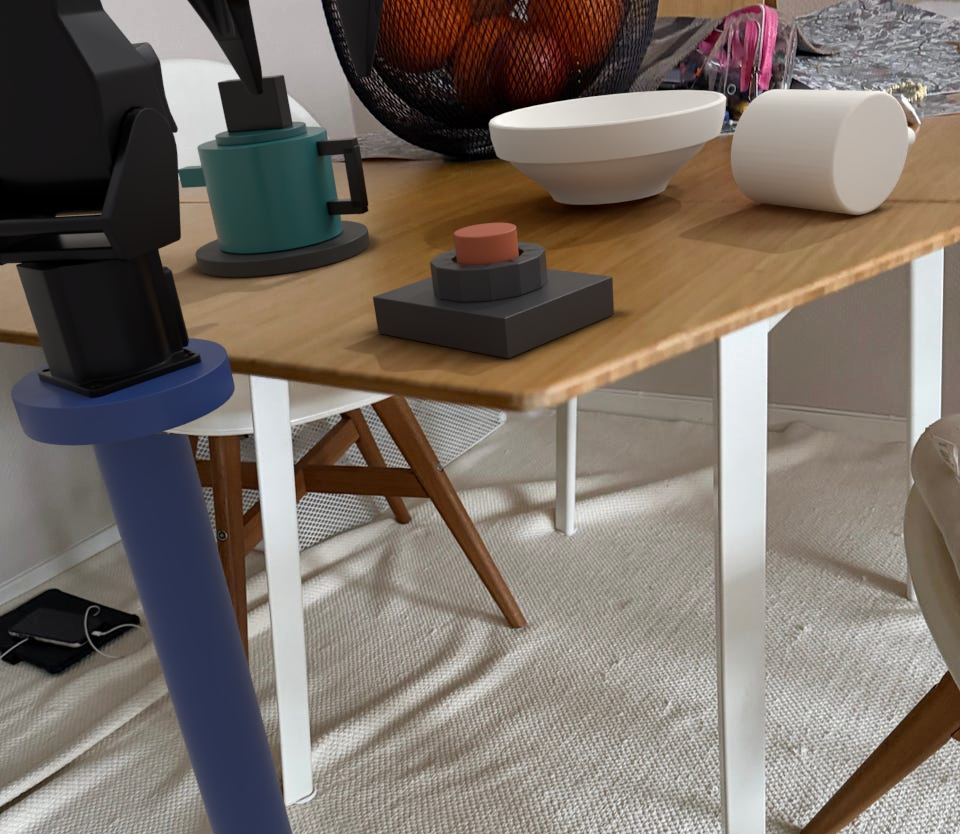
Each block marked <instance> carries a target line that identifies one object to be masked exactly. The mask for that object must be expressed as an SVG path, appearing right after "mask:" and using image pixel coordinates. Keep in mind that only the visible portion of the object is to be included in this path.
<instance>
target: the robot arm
mask: <svg viewBox="0 0 960 834" xmlns="http://www.w3.org/2000/svg"><path fill="white" fill-rule="evenodd" d="M186 1H187V2H188V3H189V5H190V6H191V7H192V9H193V10H194V12H195V13H196V14H197V15H198V17H199V18H200V20H201V21H202V22H203V23H204V25H205V26H206V28H207V29H208V30H209V32H210V33H211V35H212V36H213V38H214V40H215V41H216V43H217V44H218V46H219V47H220V49H221V51H222V52H223V54H224V55H225V57H226V59H227V60H228V62H229V64H230V65H231V67H232V68H233V70H234V72H235V74H237V76H238V79H241V81H242V83H243V84H244V86H245V88H246V89H247V91H248V92H249V94H250V95H262V94H263V80H262V77H263V71H262V70H263V69H262V63H261V58H260V53H259V47H258V41H257V36H256V31H255V24H254V20H253V15H252V9H251V5H250V0H186ZM384 2H385V0H335V3H336V6H337V11H338V14H339V19H340V22H341V26H342V30H343V34H344V37H345V42H346V46H347V50H348V54H349V56H350V60H351V62H352V64H353V69H354V71H355V75H356V76H357V77H358V78H369V77H370V76H371V75H372V71H373V66H374V59H375V53H376V48H377V41H378V35H379V28H380V22H381V17H382V12H383V7H384ZM178 131H179V128H178V125H177V123H176V121H175V119H174V116H173V115H172V112H171V109H170V106H169V102H168V99H167V95H166V90H165V86H164V79H163V71H162V65H161V60H160V58H159V57H158V55H157V53H156V51H155V50H154V48H153V46H152V45H151V44H150V42H147V41H146V42H136V43H132V42H131V40H129V39H128V37H127V36H126V35H125V34H124V33H123V31H122V30H121V29H120V28H119V26H118V25H117V24H116V22H114V20H113V19H112V18H111V16H110V15H109V14H108V13H107V11H106V10H105V9H104V7H103V4H102V1H101V0H0V266H5V265H7V264H15V267H16V270H17V273H18V276H19V279H20V283H21V286H22V288H23V292H24V295H25V298H26V302H27V305H28V308H29V311H30V313H31V317H32V320H33V323H34V327H35V329H36V332H37V336H38V338H39V342H40V345H41V348H42V351H43V355H44V358H45V360H46V363H47V364H46V365H48V368H44V369H42V370H39V371H38V372H37V373H38V376H39V379H40V380H41V381H43V382H46V383H49V384H52V385H55V386H58V387H61V388H63V389H66V390H69V391H72V392H75V393H78V394H81V395H83V396H86V397H89V398H97V397H102V396H105V395H108V394H111V393H114V392H116V391H119V390H122V389H125V388H128V387H131V386H134V385H137V384H140V383H143V382H146V381H149V380H151V379H154V378H157V377H160V376H163V375H166V374H169V373H172V372H175V371H178V370H181V369H183V368H186V367H189V366H192V365H195V364H198V363H200V362H201V361H202V360H201V356H200V353H199V352H195V351H192V350H188V349H184V347H187V346H188V344H189V338H190V337H189V334H188V329H187V326H186V322H185V318H184V314H183V310H182V306H181V302H180V298H179V294H178V290H177V287H176V281H175V278H174V275H173V271H172V269H171V268H170V267H167V266H164V265H163V263H162V259H161V254H160V249H163V248H165V247H167V246H169V245H172V244H174V243H177V242H179V241H180V240H181V238H182V229H181V227H182V225H181V203H180V183H179V182H180V177H179V173H178V169H179V159H178V158H179V155H178V145H177V142H176V137H175V134H176V133H178Z"/></svg>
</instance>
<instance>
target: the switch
mask: <svg viewBox="0 0 960 834" xmlns="http://www.w3.org/2000/svg"><path fill="white" fill-rule="evenodd" d="M453 241H454V249H455V251H456V259H457V263H458V264H466V265H472V264H489V263H494V262H500V261H506V260H510V259H513V258H516V257H519V252H518V242H519V241H518V231H517V226H516V225H515V224H513V223H510V222H486V223H478V224H472V225H467V226H465V227H462V228H459V229H457V230H455V231H454V232H453Z"/></svg>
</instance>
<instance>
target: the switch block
mask: <svg viewBox="0 0 960 834" xmlns="http://www.w3.org/2000/svg"><path fill="white" fill-rule="evenodd" d="M518 252H519V257H516V258H513V259H510V260H506V261H500V262H494V263H489V264H472V265H466V264H458V263H457V259H456V251H455V248H453V249H452V250H451V249H450V250H447V251H443V252H441V253H439V254H437V255H436V256H435V257H434V258H433V259H431V261H429V267H430V274H431V276H430V277H427V278H425V279H424V278H423V279H421V280H418V281H415V282H412V283H409V284H406V285H403V286H400V287H397V288H395V289H392V290H388V291H386V292H383V293H380V294H377V295H373V296H372V301H373V309H374V313H375V314H374V315H375V320H376V327H377V333H378V334H381V335H384V336H385V335H386V336H391V337H396V338H402V339H406V340H411V341H416V342H422V343H427V344H432V345H437V346H442V347H447V348H452V349H457V350H463V351H467V352H472V353H477V354H483V355H487V356H493V357H497V358H502V359H507V360H509V359H512V358H514V357H516V356H518V355H520V354H524V353H526V352H527V351H530V350H533V349H535V348H538V347H539V346H542V345H545V344H547V343H550V342H552V341H554V340H556V339H559V338H561V337H564V336H566V335H568V334H571V333H573V332H575V331H578V330H580V329H582V328H585V327H587V326H589V325H592V324H594V323H595V324H596V323H597V322H599V321H602V320H604V319H607V318H609V317H611V316H613V315H615V307H614V306H615V305H614V282H613V281H614V280H613V276H612V275H611V276H610V275H602V274H593V273H586V272H577V271H571V270H560V269H553V268H548V266H547V265H548V264H547V254H546V253H547V252H546V248H545V247H543V246H542V245H540V244H538V243H536V242H535V243H534V242H525V241H518Z"/></svg>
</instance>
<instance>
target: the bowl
mask: <svg viewBox="0 0 960 834" xmlns="http://www.w3.org/2000/svg"><path fill="white" fill-rule="evenodd" d="M726 106H727V96H726V95H725V94H724V93H722V92H718V91H712V90H700V89H699V90H698V89H697V90H696V89H676V90H675V89H673V90H672V89H671V90H669V89H668V90H652V91H651V90H648V91H636V92H625V93H613V94H605V95H604V94H603V95H597V96H595V95H594V96H587V97H580V98H572V99H566V100H560V101H553V102H548V103H542V104H537V105H532V106H528V107H523V108H518V109H514V110H512V111H511V110H510V111H507V112H504V113H501V114H499V115H496V116H494V117H493V118H491V119H490V120H489V122H488V129H489V134H490V135H489V136H490V141H491V143H492V144H491V145H492V146H493V149H494V152H495V155H496V157H497V158H499V159H500V160H502V161H506V162H509V163H510V164H511V166H513V167H514V168H515V169H517V170H518V171H519V172H521V174H523V175H524V176H526V178H528V179H530V180H531V181H533V182H534V183H536V184H537V185H539V186H541V187H542V188H543V189H545V191H547V193H548V194H549V195H550V196H551V198H552V200H554V201H555V202H557V203H560V204H566V205H577V206H579V205H581V206H584V205H585V206H587V205H605V204H615V203H623V202H630V201H636V200H641V199H645V198H649V197H653V196H656V195H658V194H661V193H663V192H664V191H665V190H666V189H667V188H668V185H669V183H670V182H671V181H672V179H673V178H674V177H675V175H676V174H678V173H679V172H680V171H681V170H682V169H683V168H684V167H686V166H687V164H689V163H690V162H691V161H692V160H693V159H694V158H695V157H696V156H697V155H698V154H699V153H700V152H701V151H702V150H703V149H704V148H705V146H706V144H707V143H708V142H709V141H711V140H713V139H715V138H717V137H718V136H720V134H721V132H722V128H723V124H724V120H725V116H726V109H727V108H726Z"/></svg>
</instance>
